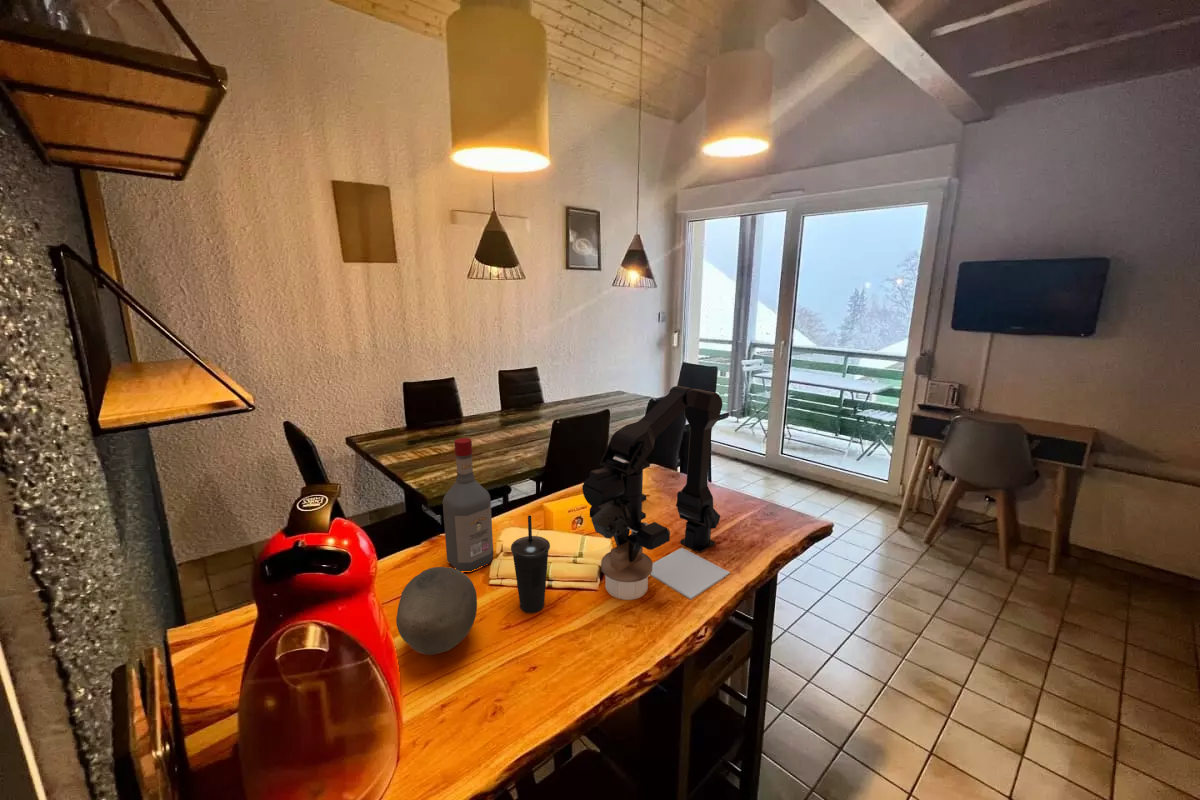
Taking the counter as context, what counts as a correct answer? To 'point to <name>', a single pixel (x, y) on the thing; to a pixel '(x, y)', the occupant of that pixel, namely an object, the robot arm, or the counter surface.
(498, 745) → the counter surface
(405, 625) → the dark grey round stone
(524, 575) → the drinking cup
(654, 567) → the mat
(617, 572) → the lid
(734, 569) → the counter surface
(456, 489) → the liquor
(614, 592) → the bowl
